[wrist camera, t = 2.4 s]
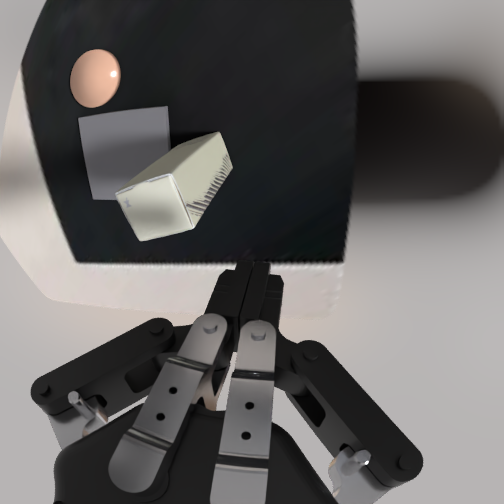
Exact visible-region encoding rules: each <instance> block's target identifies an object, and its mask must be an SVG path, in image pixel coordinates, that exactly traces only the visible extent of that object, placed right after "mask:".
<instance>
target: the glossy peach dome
mask: <svg viewBox="0 0 504 504" xmlns="http://www.w3.org/2000/svg"><path fill="white" fill-rule="evenodd" d="M120 77H121V71H120V66H119V63H118V61H117V59H116V57H115V56H114V55H113V54H112V53H110V52H109V51H107V50H102V49H99V50H91V51H88V52H86V53H84V54H83V55H82V56H81V57H80V58H79V59H78V60H77V61H76V63H75V65H74V67H73V69H72V73H71V78H70V85H71V90H72V93H73V96H74V97H75V99H76V100H77V101H78V102H79V103H80V104H81V105H83V106H85V107H90V108H92V107H97V106H101V105H103V104H105V103H107V102H108V101H109V100H110V99H111V98H112V97H113V96H114V95H115V93H116V91H117V89H118V87H119V83H120Z"/></svg>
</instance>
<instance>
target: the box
mask: <svg viewBox="0 0 504 504" xmlns="http://www.w3.org/2000/svg"><path fill="white" fill-rule="evenodd" d="M231 170H232V164H231V161H230V158H229V155H228V152H227V149H226V147H225V144H224V141H223V139H222V137H221V134H220V133H219V132H215V133H211V134H208V135H205V136H202V137H199V138H196V139H193V140H190V141H187V142H185V143H182V144H180V145H178V146H176V147H175V148H173V149H172V150H171V151H169V152H168V153H167V154H165V155H164V156H162V157H161V158H160V159H158V160H157V161H155V162H154V163H153V164H151V165H150V166H149V167H147V168H146V169H145V170H143V171H142V172H141V173H139V174H138V175H137V176H135V177H134V178H133V179H131V180H130V181H129V182H128V183H126V184H125V185H124V186H123V187H121V188H120V189H119V190H118V191H117V192H116V193H115V195H116V198H117V200H118V202H119V204H120V206H121V208H122V210H123V212H124V214H125V216H126V218H127V219H128V221H129V223H130V225H131V227H132V229H133V230H134V232H135V234H136V236H137V237H138V239H139V240H140V241H145V240H150V239H154V238H159V237H163V236H167V235H171V234H175V233H179V232H183V231H186V230H190V229H193V228H194V227H195V226H196V224H197V222H198V221H199V219H200V217H201V216H202V214H203V213H204V211H205V209H206V207H207V206H208V205H209V203H210V202H211V200H212V198H213V197H214V195H215V194H216V192H217V191H218V189H219V188H220V186H221V185H222V183H223V182H224V180H225V179H226V177H227V176H228V174H229V173H230V171H231Z"/></svg>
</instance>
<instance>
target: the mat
mask: <svg viewBox="0 0 504 504" xmlns="http://www.w3.org/2000/svg"><path fill="white" fill-rule="evenodd" d="M78 121H79V128H80V134H81V141H82V147H83V152H84V158H85V163H86V168H87V173H88V178H89V183H90V187H91V192H92V196H93V199H103V200H117V198H116V195H115V193H116V192H117V191H118V190H119V189H120V188H121V187H123V186H124V185H125V184H126V183H128V182H129V181H130V180H131V179H133V178H134V177H135V176H137V175H138V174H139V173H141V172H142V171H143V170H145V169H146V168H147V167H149V166H150V165H151V164H153V163H154V162H155V161H157V160H158V159H160V158H161V157H162V156H164V155H165V154H167V153H168V152H169V151H171V146H170V134H169V120H168V106H161V107H150V108H140V109H131V110H123V111H116V112H109V113H102V114H96V115H90V116H85V117H80V118H78Z"/></svg>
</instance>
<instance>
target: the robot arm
mask: <svg viewBox="0 0 504 504" xmlns="http://www.w3.org/2000/svg"><path fill="white" fill-rule="evenodd" d="M270 269H271V263H263V262H255V263H254V262H253V261H244V260H238V262H237V265H236V268H235V270H228V269H226V270H225V271H224V272H223V273H222V274H221V275H219V278H218V280H217V283H216V285H215V288H214V291H213V293H212V295H211V298H210V300H209V303H208V305H207V308H206V310H205V313H204V315H201V316H200V317H198V318H197V319H196V320H195V321H194V323H193V324H191V325H186V326H175V327H173V325H172V323H171V322H170V321H169V320H167V319H164V318H154V319H151V320H149V321H147V322H145V323H143V324H141V325H139V326H137V327H135V328H133V329H131V330H130V331H128V332H126V333H124V334H122V335H120V336H118V337H116V338H114V339H112V340H111V341H109V342H107V343H105V344H103V345H101V346H99V347H97V348H95V349H93V350H91V351H89V352H88V353H86V354H84V355H82V356H80V357H78V358H76V359H74V360H72V361H70V362H68V363H66V364H64V365H62V366H60V367H59V368H57V369H55V370H53V371H51V372H49V373H47V374H45V375H43V376H41V377H39V378H38V379H37V380H35V382H34V383H33V385H32V387H31V397H32V399H33V400H34V402H35V403H36V404H37V405H38V406H39V407H40V408H42V410H43V411H44V412H45V413H46V414H47V415H48V417H49V420H50V423H51V425H52V428H53V430H54V432H55V435H56V438H57V440H58V442H59V445H60V447H61V449H62V451H61V452H60V453H59V455H58V456H57V458H56V461H55V464H54V479H55V499H54V503H53V504H373V503H374V502H375V501H377V500H378V499H379V498H381V497H382V496H383V495H384V494H386V493H387V492H388V491H389V490H391V489H393V488H396V487H398V486H400V485H402V484H404V483H406V482H408V481H410V480H412V479H414V478H415V477H416V476H417V475H418V474H419V473H420V471H421V469H422V467H423V457H422V454H421V452H420V451H419V450H418V449H417V448H416V447H415V445H414V444H413V443H412V442H411V441H410V440H409V439H408V438H407V437H406V436H405V435H404V433H403V432H401V430H400V429H399V428H398V427H397V426H396V425H395V424H394V423H393V422H392V420H391V419H390V418H389V417H388V416H387V415H386V414H385V413H384V412H383V410H382V409H381V408H380V407H379V406H378V405H377V404H376V403H375V402H374V401H373V400H372V398H371V397H370V396H369V395H368V394H367V393H366V392H365V391H364V390H363V389H362V387H361V386H360V385H359V384H358V383H357V382H356V381H355V380H354V378H353V377H352V376H351V375H350V374H349V373H348V372H347V371H346V370H345V368H344V367H343V366H342V365H341V364H340V363H339V362H338V361H337V360H336V358H335V357H334V356H333V355H332V354H331V353H330V352H329V351H328V350H327V348H326V347H325V346H324V345H322V344H321V343H319V342H317V341H312V340H305V341H302V342H300V343H298V344H297V343H294V342H292V341H290V340H288V339H286V338H285V337H284V336H282V334H281V333H280V331H279V329H278V327H279V320H280V313H281V306H282V297H283V287H284V282H283V280H282V278H281V276H280V275H272V274H270ZM233 352H237V358H236V364H235V370H234V372H233V373H232V376H231V382H230V388H229V394H228V400H227V406H226V410H225V411H216V406H217V401H218V398H219V395H220V392H221V390H222V387H223V384H224V382H225V379H226V376H227V373H228V371H229V367H230V361H231V357H232V354H233ZM274 387H277V388H279V389H281V390H283V391H285V393H286V395H287V397H288V398H289V400H290V401H291V402H292V403H293V405H294V406H295V408H296V409H297V410H298V412H299V413H300V414H301V416H302V417H303V418H304V420H305V421H306V422H307V424H308V425H309V426H310V428H311V429H312V430H313V432H314V433H315V434H316V435H317V437H318V438H319V439H320V441H321V442H322V443H323V444H324V446H325V447H326V448H327V450H328V451H329V452H330V453H331V455H332V456H333V457H334V459H333V460H332V462H331V463H330V465H329V469H328V473H329V477H330V479H331V481H332V483H333V493H332V494H331V492H330V491H329V490H328V488H327V487H326V486H325V484H324V483H323V481H322V480H321V479H320V477H319V476H318V474H317V473H316V471H315V470H314V469H313V467H312V466H311V464H310V463H309V461H308V460H307V459H306V457H305V455H304V454H303V453H302V451H301V450H300V448H299V447H298V445H297V444H296V442H295V441H294V439H293V438H292V437H291V436H290V434H289V433H288V432H286V431H285V430H284V429H283V428H282V427H280V426H278V425H277V424H275V423H273V422H272V408H273V392H274ZM147 395H148V397H147V399H146V401H145V403H142V404H140V405H138V406H136V407H134V408H132V409H131V410H129V411H128V412H126V413H124V414H123V415H121V416H119V417H118V418H116V419H114V420H113V421H111V422H109V423H107V422H108V417H110V416H112V415H114V414H115V413H117V412H119V411H121V410H122V409H124V408H126V407H128V406H130V405H132V404H133V403H135V402H137V401H138V400H140V399H142V398H144V397H146V396H147Z"/></svg>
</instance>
